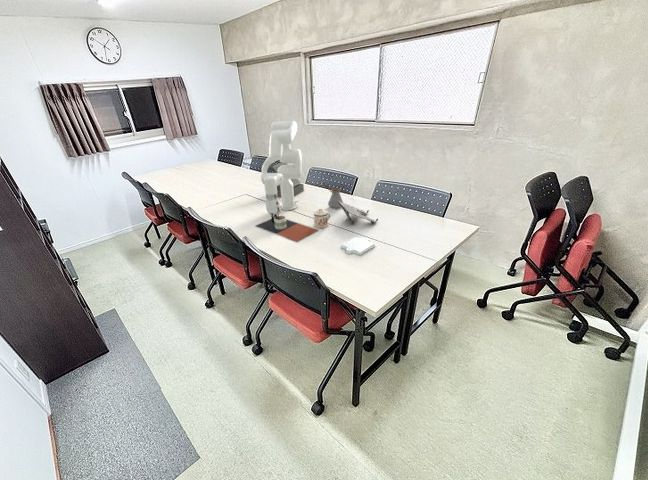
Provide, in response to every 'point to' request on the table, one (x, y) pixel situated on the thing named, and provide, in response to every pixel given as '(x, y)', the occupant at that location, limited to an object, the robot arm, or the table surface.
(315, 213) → the teacup with lid
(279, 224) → the cup
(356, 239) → the mounting plate
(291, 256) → the table surface
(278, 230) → the felt runner
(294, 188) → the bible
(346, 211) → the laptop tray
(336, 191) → the coffee pot
